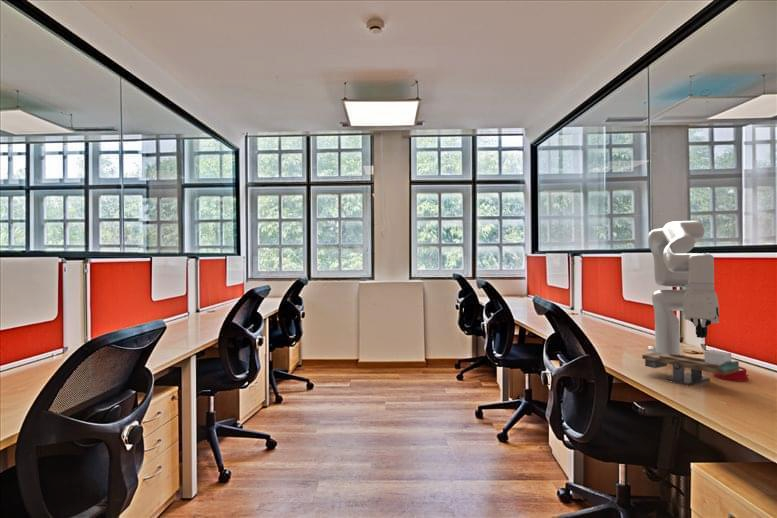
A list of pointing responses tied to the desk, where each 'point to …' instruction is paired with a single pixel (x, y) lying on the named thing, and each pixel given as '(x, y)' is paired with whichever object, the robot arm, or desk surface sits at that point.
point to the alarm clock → (734, 375)
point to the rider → (717, 357)
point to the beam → (688, 363)
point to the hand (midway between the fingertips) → (701, 337)
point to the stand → (686, 376)
